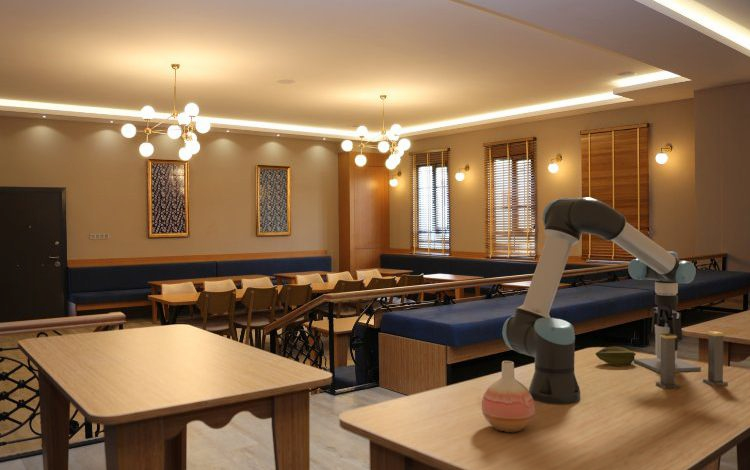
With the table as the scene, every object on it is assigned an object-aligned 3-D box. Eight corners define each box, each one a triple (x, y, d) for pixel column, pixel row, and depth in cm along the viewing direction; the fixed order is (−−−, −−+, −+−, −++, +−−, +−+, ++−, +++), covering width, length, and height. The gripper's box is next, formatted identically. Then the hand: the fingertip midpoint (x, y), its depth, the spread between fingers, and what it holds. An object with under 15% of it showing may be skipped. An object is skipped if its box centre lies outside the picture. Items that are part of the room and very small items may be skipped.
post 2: (713, 386, 202) (714, 334, 201) (703, 382, 207) (703, 331, 206) (727, 385, 202) (728, 333, 202) (717, 381, 207) (717, 330, 207)
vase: (524, 441, 155) (524, 371, 154) (473, 431, 162) (473, 364, 162) (541, 425, 167) (541, 359, 166) (493, 417, 174) (492, 354, 173)
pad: (659, 372, 219) (659, 369, 219) (633, 362, 235) (633, 359, 235) (700, 370, 221) (700, 367, 221) (672, 360, 237) (672, 357, 237)
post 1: (665, 389, 199) (665, 336, 198) (655, 384, 204) (656, 333, 203) (679, 388, 200) (679, 335, 199) (669, 383, 205) (670, 332, 204)
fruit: (628, 369, 224) (628, 351, 224) (594, 365, 231) (594, 347, 231) (637, 363, 233) (637, 345, 233) (604, 359, 240) (604, 342, 240)
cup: (681, 361, 223) (681, 327, 223) (657, 360, 225) (657, 327, 224) (675, 356, 231) (675, 323, 231) (652, 355, 233) (652, 323, 232)
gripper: (694, 297, 218) (693, 362, 218) (659, 290, 238) (658, 350, 238) (674, 298, 216) (674, 363, 217) (640, 290, 236) (640, 351, 237)
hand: (666, 356), depth 228 cm, fingers closed on cup, 7 cm apart
